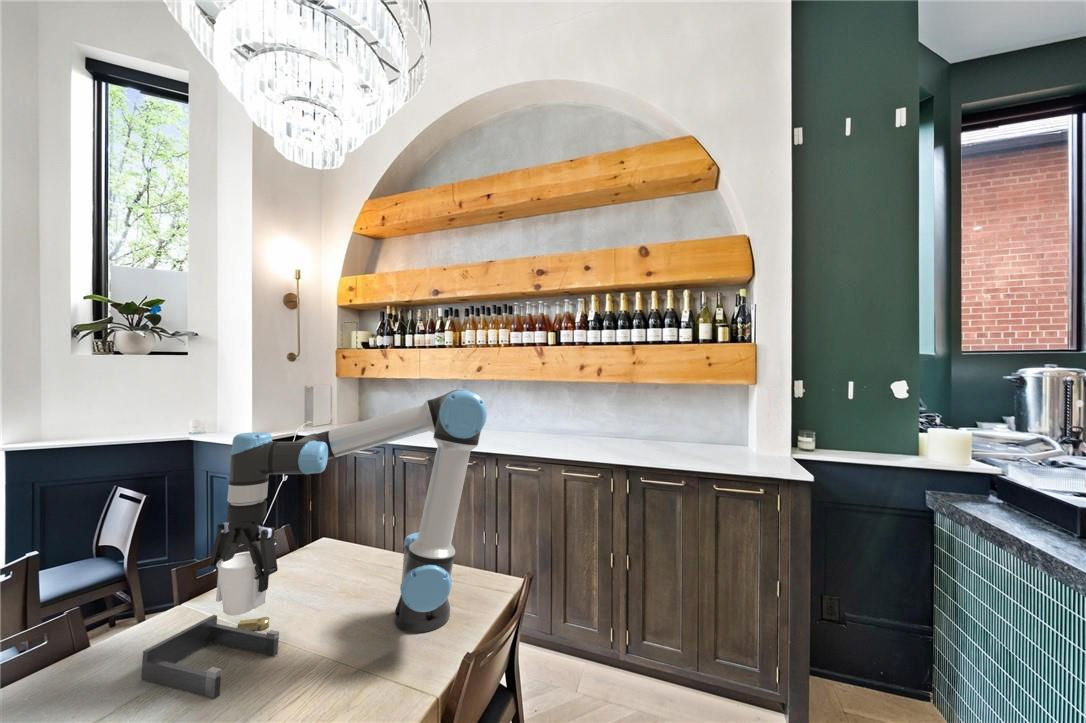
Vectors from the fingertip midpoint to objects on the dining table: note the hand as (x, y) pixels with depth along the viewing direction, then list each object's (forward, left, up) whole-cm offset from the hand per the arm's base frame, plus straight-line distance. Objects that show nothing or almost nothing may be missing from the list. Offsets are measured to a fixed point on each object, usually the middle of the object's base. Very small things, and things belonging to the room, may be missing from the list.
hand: (240, 602), depth 96 cm
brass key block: (+12, -14, -15) cm, 24 cm away
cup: (0, 0, -2) cm, 2 cm away
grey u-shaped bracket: (+6, 0, -15) cm, 16 cm away
